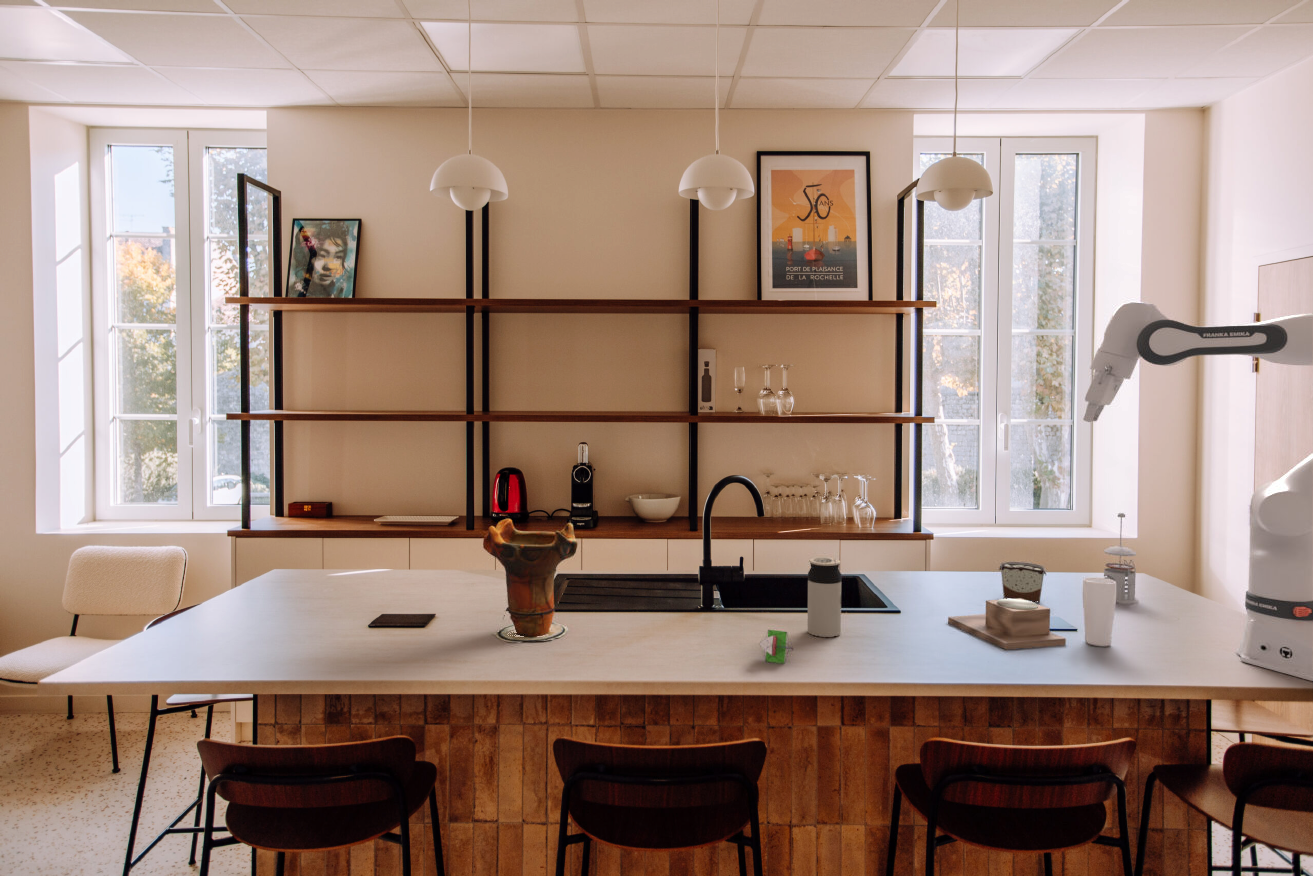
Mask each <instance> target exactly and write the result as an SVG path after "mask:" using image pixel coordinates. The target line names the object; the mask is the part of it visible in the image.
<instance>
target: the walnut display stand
mask: <svg viewBox="0 0 1313 876" xmlns="http://www.w3.org/2000/svg"><path fill="white" fill-rule="evenodd" d="M947 621H948V622H947V623H948V624H950V625H952V626H954V627H956V628H959V629H961V630H962V631H964V632H966V633H967V632H968V633H970V634H972V635H973V636H976V637H977V638H980V639H982V640H984V641H987V642H988V643H990V644H993V645H995V646H997V647H999V648H1001V647H1002V648H1001V649H1003V648H1004V649H1003V650H1005V649H1006V650H1005V651H1008V650H1007V649H1011V650H1018V649H1017V648H1023V649H1031V648H1032V647H1034V648H1041V647H1042V648H1045V646H1046V647H1055V646H1056V645H1058V646H1066V645H1067V644H1066V642H1067V639H1066V638H1065V637H1063V636H1061V635H1058V634H1055V633H1053V632H1050V627H1051V623H1050V622H1051V608H1049V607H1046V606H1045V605H1044V606H1043V605H1041V604H1037V602H1031V601H1027V600H1024V599H1021V598H1018V599H1006V598H1000V599H989V600H985V614H972V615H957V616H947Z"/></svg>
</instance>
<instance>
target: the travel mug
mask: <svg viewBox="0 0 1313 876" xmlns="http://www.w3.org/2000/svg"><path fill="white" fill-rule="evenodd" d="M808 562H809V563H810V568H809V570H808V572H807V633H809V634H810V635H812V636H814V635H815V636H814V637H817V636H819V637H818V638H826V637H829V638H835V637H834V636H836V637H837V636H840V635H841V634H842V631H841V630H842V573H841V571H840V569H839V568H840V564H841V561H840V560H839V559H837V558H832V557H813V558H810V559H809V560H808Z"/></svg>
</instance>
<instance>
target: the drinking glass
mask: <svg viewBox="0 0 1313 876" xmlns="http://www.w3.org/2000/svg"><path fill="white" fill-rule="evenodd" d="M1082 606H1083V607H1082V608H1083V621H1084V622H1083V623H1084V640H1085V643H1087V644H1088V645H1091V646H1094V647H1102V648H1103V647H1105V648H1106V647H1109V646H1111V645H1112V634H1113V626H1114V619H1115V610H1116V582H1115V581H1113V580H1110V579H1105V577H1104V578H1103V577H1085V578H1083V581H1082Z"/></svg>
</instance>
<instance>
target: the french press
mask: <svg viewBox="0 0 1313 876" xmlns="http://www.w3.org/2000/svg"><path fill="white" fill-rule="evenodd" d="M1117 517H1118V518H1120V531H1119V533H1120V534H1119V535H1120V537H1119V545H1117V546H1111V547H1107V548H1106V549H1104V550H1103V552H1104V553H1105V554H1107V555H1111V556H1118V557H1119V562H1117V563H1116V562H1115V563H1114V562H1112V563H1111V562H1108V563H1106V564H1105V566H1106V567H1107V568H1104V569H1103V577H1104V578H1105V579H1110V580H1113V581H1115V582H1116V602H1119V603H1118V604H1127V603H1131V604H1138V603H1139V602H1140V601H1139V600H1138V598H1136V575H1137V574H1136V573H1137V572H1136V567H1135V564H1134V561H1133V559H1130V560H1129V563H1128V562H1127V560H1126V559H1123V563H1121V562H1122V561H1121V558H1122V557H1134V556H1136V555H1137V554H1138V552H1136V551H1135V550H1133V549H1131V548H1129V547H1126V546H1123V545H1122V527H1123V521H1122V520H1123V519H1122V518H1126V514H1125V512H1123V513H1122V512H1119V513H1117ZM1131 563H1132V565H1131ZM1133 570H1134V571H1133Z"/></svg>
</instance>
